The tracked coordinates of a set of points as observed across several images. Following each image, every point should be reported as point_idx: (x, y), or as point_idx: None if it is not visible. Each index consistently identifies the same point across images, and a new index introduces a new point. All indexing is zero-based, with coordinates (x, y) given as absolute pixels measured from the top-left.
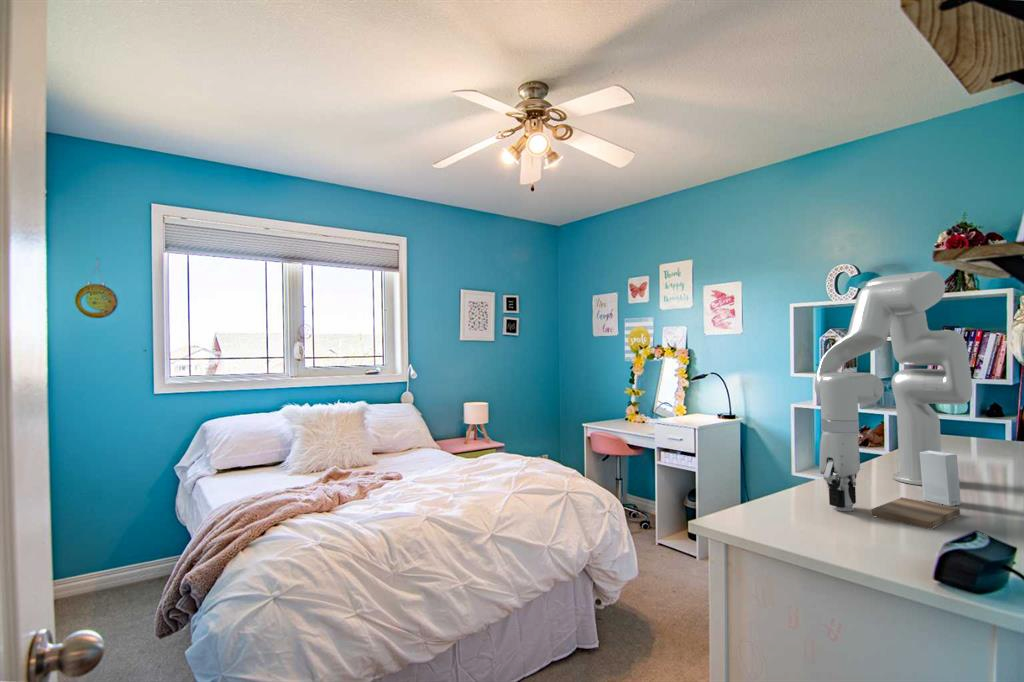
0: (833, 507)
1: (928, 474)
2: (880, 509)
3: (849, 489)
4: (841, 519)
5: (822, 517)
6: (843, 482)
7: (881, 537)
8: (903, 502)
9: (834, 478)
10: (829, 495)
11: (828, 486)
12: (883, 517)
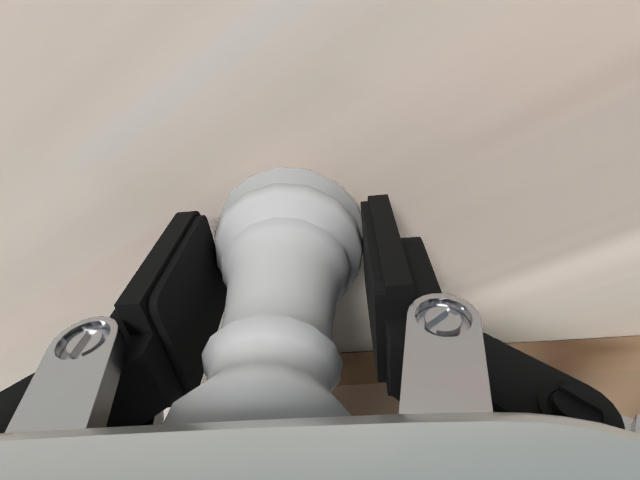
0: (224, 205)
1: None
2: (352, 406)
3: (375, 342)
4: (104, 316)
5: (14, 252)
6: None
7: None
8: (620, 404)
9: (182, 410)
10: (150, 256)
11: (55, 348)
12: None
